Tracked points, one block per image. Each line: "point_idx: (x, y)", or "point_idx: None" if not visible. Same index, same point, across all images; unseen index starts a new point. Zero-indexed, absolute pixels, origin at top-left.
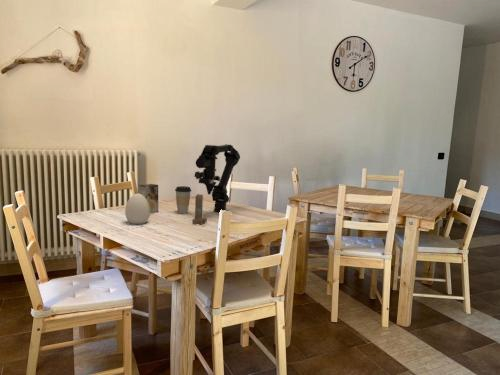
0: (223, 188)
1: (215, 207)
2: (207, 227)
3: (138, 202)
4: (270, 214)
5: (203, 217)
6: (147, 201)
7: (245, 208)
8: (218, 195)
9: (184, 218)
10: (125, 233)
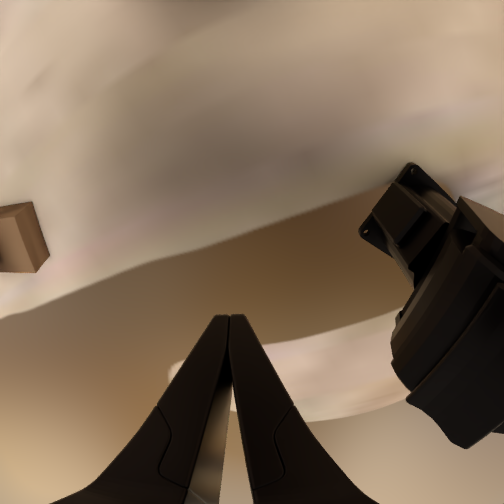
0: (453, 429)
1: (396, 206)
2: (2, 291)
3: None
4: (378, 408)
5: (24, 256)
6: None
7: None
8: (412, 335)
9: (35, 80)
10: None
